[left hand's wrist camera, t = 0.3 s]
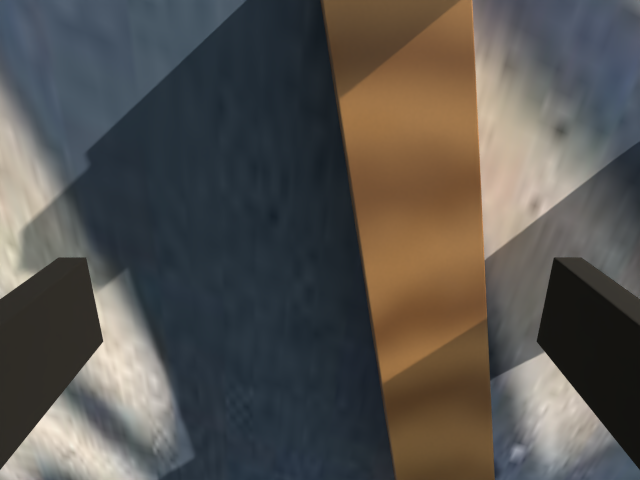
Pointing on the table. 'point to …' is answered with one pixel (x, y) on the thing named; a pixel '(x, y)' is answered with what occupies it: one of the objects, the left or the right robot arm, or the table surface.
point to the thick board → (418, 223)
